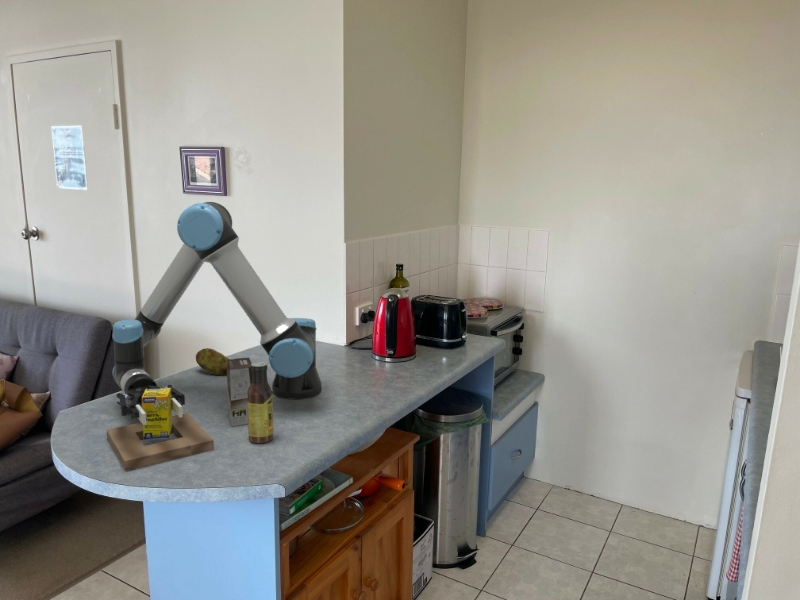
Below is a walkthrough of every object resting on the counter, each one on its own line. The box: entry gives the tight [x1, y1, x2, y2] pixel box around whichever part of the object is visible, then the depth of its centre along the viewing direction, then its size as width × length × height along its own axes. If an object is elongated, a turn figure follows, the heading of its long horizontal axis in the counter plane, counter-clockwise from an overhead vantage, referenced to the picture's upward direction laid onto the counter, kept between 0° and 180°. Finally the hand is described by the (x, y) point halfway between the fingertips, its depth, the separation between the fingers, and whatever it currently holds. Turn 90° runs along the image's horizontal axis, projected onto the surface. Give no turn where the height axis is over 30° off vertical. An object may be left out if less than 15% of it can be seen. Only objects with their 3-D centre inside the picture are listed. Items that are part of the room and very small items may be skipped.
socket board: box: [106, 412, 215, 472], centre depth 147 cm, size 20×20×2 cm
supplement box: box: [141, 388, 173, 440], centre depth 146 cm, size 6×6×11 cm
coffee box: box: [226, 357, 253, 427], centre depth 162 cm, size 9×6×16 cm
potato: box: [195, 347, 230, 376], centre depth 199 cm, size 8×13×8 cm, turn 58°
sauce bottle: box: [247, 361, 274, 444], centre depth 150 cm, size 7×6×20 cm
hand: (162, 415), depth 142 cm, fingers closed on supplement box, 8 cm apart
